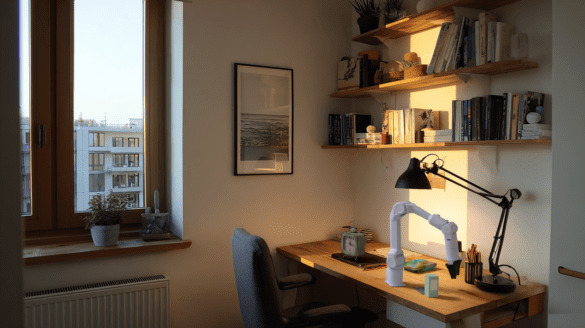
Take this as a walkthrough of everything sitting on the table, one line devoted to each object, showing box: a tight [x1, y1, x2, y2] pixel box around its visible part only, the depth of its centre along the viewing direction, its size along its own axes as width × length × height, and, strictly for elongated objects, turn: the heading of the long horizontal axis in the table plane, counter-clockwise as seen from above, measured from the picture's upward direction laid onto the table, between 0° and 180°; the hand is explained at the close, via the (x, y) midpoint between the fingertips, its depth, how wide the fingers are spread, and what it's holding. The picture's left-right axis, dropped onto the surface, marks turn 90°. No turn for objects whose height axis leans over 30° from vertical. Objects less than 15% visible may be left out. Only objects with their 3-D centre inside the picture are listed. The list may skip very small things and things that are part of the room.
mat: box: [412, 286, 425, 295], centre depth 208 cm, size 10×7×1 cm
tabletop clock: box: [340, 220, 367, 260], centre depth 267 cm, size 14×9×25 cm, turn 37°
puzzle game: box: [403, 258, 438, 274], centre depth 246 cm, size 12×5×20 cm
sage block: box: [424, 273, 440, 298], centre depth 200 cm, size 4×5×10 cm
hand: (455, 277), depth 196 cm, fingers open, 7 cm apart
